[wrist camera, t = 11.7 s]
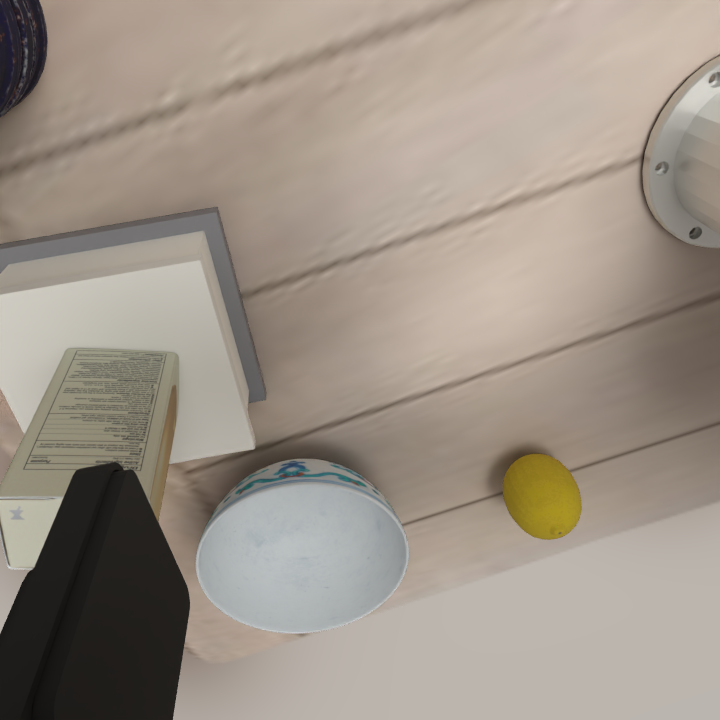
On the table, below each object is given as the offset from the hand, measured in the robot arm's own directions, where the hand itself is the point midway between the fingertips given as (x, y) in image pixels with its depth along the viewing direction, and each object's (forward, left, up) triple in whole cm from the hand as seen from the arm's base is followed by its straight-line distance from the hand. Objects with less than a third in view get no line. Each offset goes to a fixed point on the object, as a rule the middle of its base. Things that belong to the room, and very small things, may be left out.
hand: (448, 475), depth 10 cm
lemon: (-11, +30, -33) cm, 46 cm away
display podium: (+15, +12, -33) cm, 38 cm away
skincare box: (+14, +12, -26) cm, 32 cm away
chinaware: (+7, +29, -33) cm, 45 cm away
